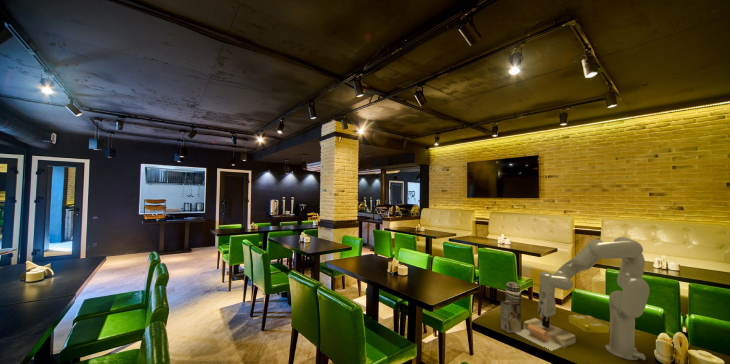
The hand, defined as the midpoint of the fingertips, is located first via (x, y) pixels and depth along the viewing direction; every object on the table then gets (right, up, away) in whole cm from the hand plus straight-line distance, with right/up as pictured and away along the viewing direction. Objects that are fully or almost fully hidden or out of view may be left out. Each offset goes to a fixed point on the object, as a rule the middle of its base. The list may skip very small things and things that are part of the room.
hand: (545, 326), depth 158 cm
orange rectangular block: (-6, -1, -3) cm, 6 cm away
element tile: (+35, -8, +13) cm, 38 cm away
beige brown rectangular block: (+2, -6, +1) cm, 6 cm away
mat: (-7, -5, -4) cm, 10 cm away
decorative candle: (-12, -5, +14) cm, 19 cm away
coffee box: (-17, -5, +5) cm, 19 cm away
